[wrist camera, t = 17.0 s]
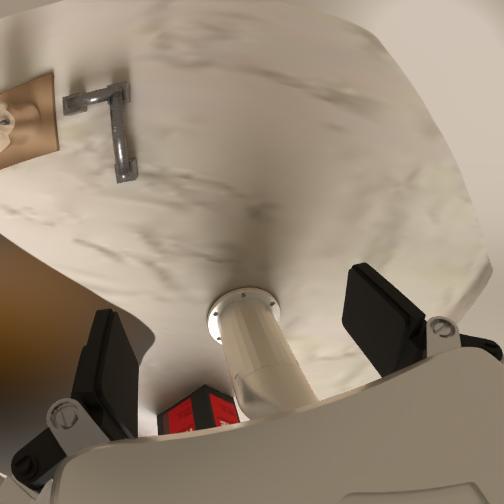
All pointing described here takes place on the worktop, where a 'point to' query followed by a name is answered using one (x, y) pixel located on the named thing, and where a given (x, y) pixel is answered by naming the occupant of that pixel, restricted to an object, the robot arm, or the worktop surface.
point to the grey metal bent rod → (115, 98)
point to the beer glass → (18, 124)
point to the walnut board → (47, 136)
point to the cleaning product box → (198, 412)
